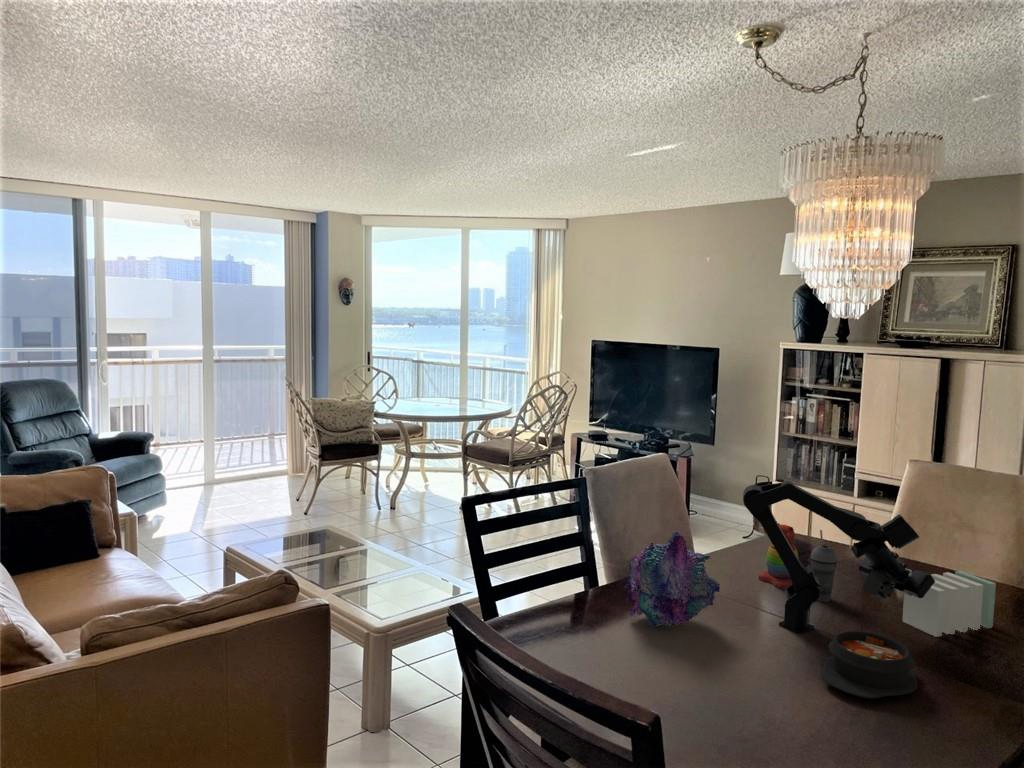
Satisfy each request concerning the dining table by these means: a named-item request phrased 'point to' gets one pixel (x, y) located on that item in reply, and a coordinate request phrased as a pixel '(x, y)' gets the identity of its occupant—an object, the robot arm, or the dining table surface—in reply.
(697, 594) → the coral
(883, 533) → the robot arm
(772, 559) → the stacking bear
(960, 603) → the domino
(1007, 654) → the dining table surface
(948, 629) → the domino
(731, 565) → the dining table surface
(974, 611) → the domino
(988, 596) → the domino
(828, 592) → the beverage cup
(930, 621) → the domino
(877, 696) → the casserole
